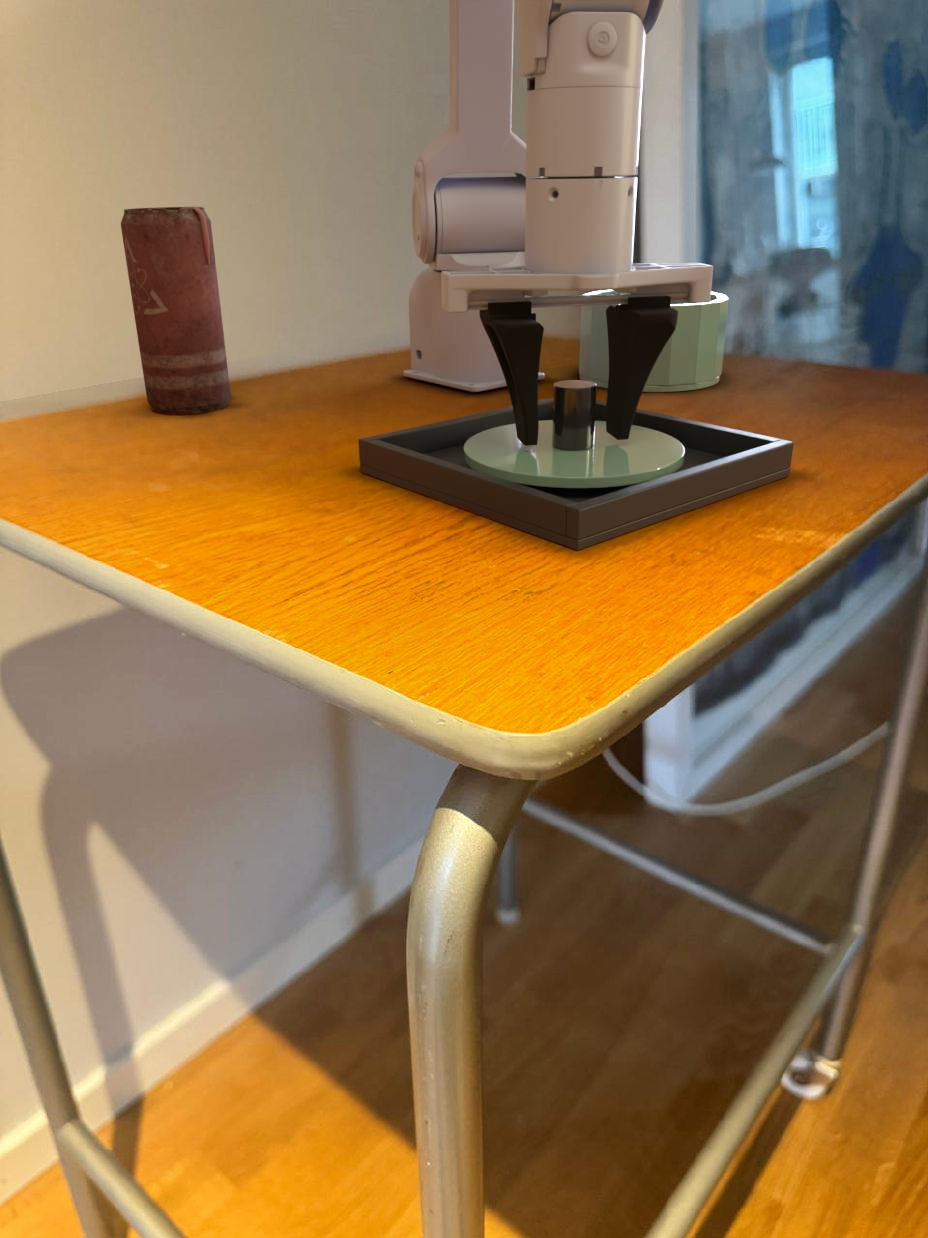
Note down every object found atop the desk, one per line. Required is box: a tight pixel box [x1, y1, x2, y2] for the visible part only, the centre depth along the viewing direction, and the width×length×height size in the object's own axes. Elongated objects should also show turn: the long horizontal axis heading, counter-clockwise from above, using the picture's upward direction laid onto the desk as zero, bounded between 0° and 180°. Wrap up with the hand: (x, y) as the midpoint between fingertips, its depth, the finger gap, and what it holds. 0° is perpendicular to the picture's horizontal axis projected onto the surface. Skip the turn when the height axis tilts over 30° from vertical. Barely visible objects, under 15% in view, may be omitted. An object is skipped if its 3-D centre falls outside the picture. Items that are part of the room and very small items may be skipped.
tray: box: [357, 397, 794, 551], centre depth 56 cm, size 18×18×2 cm
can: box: [120, 206, 232, 416], centre depth 71 cm, size 6×6×14 cm
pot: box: [578, 290, 730, 393], centre depth 81 cm, size 12×12×6 cm
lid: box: [463, 379, 685, 488], centre depth 56 cm, size 13×13×5 cm
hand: (572, 438), depth 56 cm, fingers open, 5 cm apart
